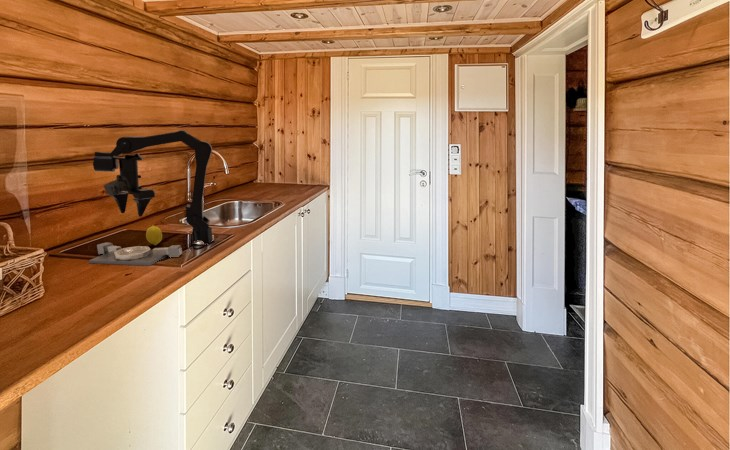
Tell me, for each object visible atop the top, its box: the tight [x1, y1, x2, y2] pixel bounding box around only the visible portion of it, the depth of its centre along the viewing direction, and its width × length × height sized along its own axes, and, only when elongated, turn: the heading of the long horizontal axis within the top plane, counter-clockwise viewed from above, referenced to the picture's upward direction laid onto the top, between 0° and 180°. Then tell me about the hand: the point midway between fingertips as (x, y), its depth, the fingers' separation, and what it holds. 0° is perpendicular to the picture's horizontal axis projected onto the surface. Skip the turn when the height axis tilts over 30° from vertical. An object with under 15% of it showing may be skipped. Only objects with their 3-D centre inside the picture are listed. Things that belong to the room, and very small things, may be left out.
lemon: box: [145, 225, 163, 246], centre depth 155 cm, size 6×6×8 cm
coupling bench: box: [88, 242, 183, 267], centre depth 140 cm, size 31×14×4 cm, turn 82°
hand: (131, 214), depth 148 cm, fingers open, 9 cm apart
